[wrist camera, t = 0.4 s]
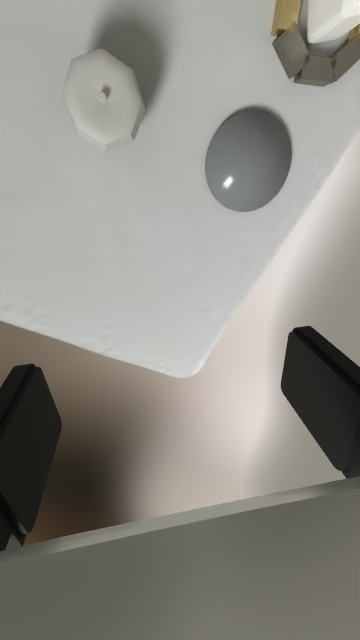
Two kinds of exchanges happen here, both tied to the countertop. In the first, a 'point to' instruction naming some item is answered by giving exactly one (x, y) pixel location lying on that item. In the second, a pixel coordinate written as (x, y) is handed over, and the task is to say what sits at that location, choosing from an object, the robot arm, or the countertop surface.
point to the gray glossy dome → (248, 160)
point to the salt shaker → (331, 19)
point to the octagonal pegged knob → (103, 99)
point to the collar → (297, 55)
